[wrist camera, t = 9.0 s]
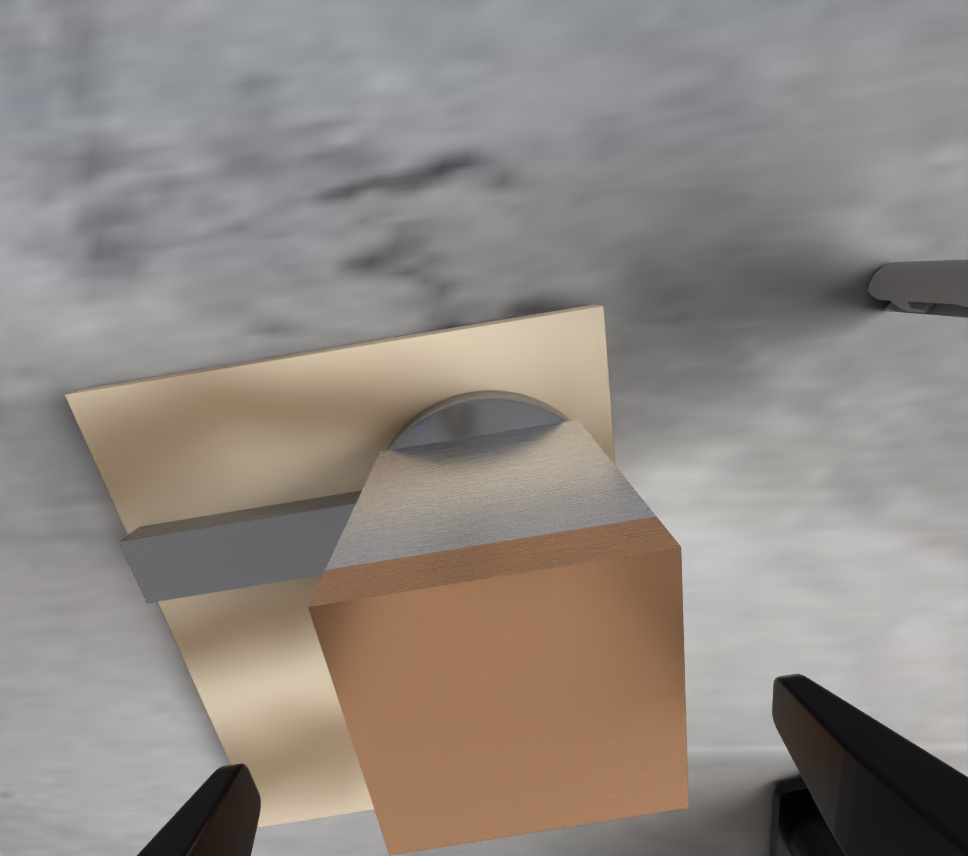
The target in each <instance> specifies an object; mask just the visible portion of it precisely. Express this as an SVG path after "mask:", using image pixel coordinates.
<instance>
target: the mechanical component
mask: <svg viewBox="0 0 968 856" xmlns="http://www.w3.org/2000/svg"><path fill="white" fill-rule="evenodd" d="M868 292H869V293H870V294H871V295H872V296H873V297H875V298H876V299H877V300H890V301H891V303H890V304H889V305H888V306H887V307H886V311H893V312H905V313H918V314H930V315H942V316H955V317H967V318H968V260H945V261H916V262H893V263H890V264H887V265H885V266H883V267H881V268H880V269H879V270H878V271H877V272H876V273H875V274H874V276H873V277H872V279H871V281H870V283H869V287H868Z"/></svg>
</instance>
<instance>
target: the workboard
mask: <svg viewBox="0 0 968 856" xmlns="http://www.w3.org/2000/svg"><path fill="white" fill-rule="evenodd" d="M483 390H500V391H509V392H515V393H520V394H523V395H527V396H530V397H533V398H536V399H538V400H540V401H542V402H545V403H547V404H549V405H550V406H552V407H554V408H555V409H557V410H558V411H560V412H561V413H563V414H564V415H565V416H566V417H567V418H569V419H570V420H577V419H578V420H579V422H580V423H581V424H582V425H583V427H584V428H585V429H586V430H587V432H588V433H589V434H590V435H591V437H592V438H593V439H594V440H595V441H596V443H597V444H598V445H599V446H600V448H601V449H602V450H603V451H604V453H605V454H606V455H607V456H608V457H609V459H610V460H611V461H612V462H613V464H614V465H615V455H614V442H613V428H612V415H611V402H610V389H609V375H608V362H607V349H606V335H605V322H604V309H603V306H600V305H595V304H594V305H588V306H582V307H576V308H570V309H563V310H557V311H551V312H545V313H539V314H533V315H527V316H521V317H515V318H509V319H503V320H497V321H491V322H485V323H478V324H472V325H466V326H460V327H454V328H448V329H442V330H436V331H430V332H424V333H418V334H412V335H406V336H400V337H393V338H387V339H381V340H375V341H369V342H363V343H357V344H351V345H345V346H339V347H333V348H327V349H321V350H315V351H309V352H302V353H296V354H290V355H284V356H278V357H272V358H266V359H260V360H254V361H248V362H242V363H236V364H230V365H224V366H217V367H211V368H205V369H199V370H193V371H187V372H181V373H175V374H169V375H163V376H157V377H151V378H145V379H139V380H132V381H126V382H120V383H114V384H108V385H102V386H96V387H90V388H86V389H83V390H79V391H76V392H73V393H69V394H66V395H65V396H66V398H67V401H68V403H69V405H70V407H71V410H72V412H73V414H74V416H75V419H76V421H77V423H78V425H79V427H80V430H81V432H82V434H83V436H84V439H85V441H86V443H87V445H88V447H89V450H90V452H91V454H92V456H93V459H94V461H95V463H96V465H97V468H98V470H99V472H100V474H101V476H102V479H103V481H104V483H105V485H106V488H107V490H108V492H109V494H110V496H111V499H112V501H113V503H114V505H115V508H116V510H117V512H118V514H119V517H120V519H121V521H122V523H123V525H124V528H125V530H126V532H127V534H128V535H129V534H131V533H132V532H133V531H134V530H136V529H137V528H138V527H140V526H146V525H152V524H159V523H165V522H171V521H177V520H183V519H189V518H195V517H201V516H208V515H214V514H220V513H226V512H232V511H238V510H244V509H251V508H257V507H263V506H269V505H275V504H281V503H287V502H293V501H300V500H306V499H312V498H318V497H324V496H330V495H336V494H343V493H349V492H355V491H361V490H363V488H364V485H365V483H366V481H367V479H368V477H369V475H370V473H371V470H372V468H373V466H374V464H375V462H376V460H377V457H378V455H379V453H380V451H386V449H387V447H388V446H389V444H390V443H391V441H392V439H393V438H394V437H395V436H396V434H397V433H398V432H399V431H400V429H401V428H402V427H403V426H404V425H405V424H406V423H408V422H409V421H410V420H411V419H412V418H413V417H414V416H416V415H417V414H419V413H420V412H421V411H423V410H424V409H426V408H427V407H429V406H431V405H433V404H435V403H437V402H439V401H441V400H444V399H446V398H449V397H452V396H455V395H459V394H463V393H467V392H473V391H483ZM322 576H323V575H319V576H313V577H307V578H300V579H294V580H288V581H282V582H276V583H270V584H263V585H257V586H251V587H245V588H239V589H233V590H226V591H220V592H214V593H208V594H202V595H196V596H189V597H183V598H177V599H171V600H165V601H158V603H159V606H160V608H161V610H162V612H163V615H164V617H165V619H166V621H167V623H168V626H169V628H170V630H171V632H172V635H173V637H174V639H175V641H176V644H177V646H178V648H179V650H180V652H181V655H182V657H183V659H184V661H185V664H186V666H187V668H188V670H189V672H190V675H191V677H192V679H193V681H194V684H195V686H196V688H197V690H198V693H199V695H200V697H201V699H202V701H203V704H204V706H205V708H206V710H207V713H208V715H209V717H210V719H211V722H212V724H213V726H214V728H215V730H216V733H217V735H218V737H219V739H220V742H221V744H222V746H223V748H224V750H225V753H226V755H227V757H228V759H229V762H230V764H231V765H233V764H240V763H243V764H245V765H246V766H247V767H248V768H249V771H250V773H251V775H252V777H253V780H254V782H255V784H256V787H257V789H258V791H259V794H260V798H261V811H260V816H259V821H258V826H259V828H260V827H266V826H272V825H279V824H285V823H291V822H298V821H304V820H310V819H316V818H323V817H329V816H335V815H341V814H348V813H354V812H360V811H367V810H373V809H374V807H373V804H372V801H371V798H370V794H369V791H368V788H367V785H366V782H365V779H364V776H363V773H362V770H361V767H360V764H359V761H358V758H357V755H356V752H355V749H354V746H353V743H352V740H351V737H350V734H349V731H348V728H347V725H346V722H345V719H344V716H343V713H342V710H341V706H340V703H339V700H338V697H337V694H336V691H335V688H334V685H333V682H332V679H331V676H330V673H329V670H328V667H327V664H326V661H325V658H324V655H323V652H322V649H321V646H320V643H319V640H318V637H317V634H316V631H315V628H314V625H313V622H312V618H311V615H310V612H309V609H308V606H309V604H310V602H311V599H312V597H313V595H314V593H315V591H316V589H317V586H318V584H319V582H320V580H321V578H322Z"/></svg>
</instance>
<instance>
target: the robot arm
mask: <svg viewBox="0 0 968 856" xmlns="http://www.w3.org/2000/svg"><path fill="white" fill-rule="evenodd" d="M772 716H773V720H774V723H775V726H776V728H777V730H778V732H779V734H780V736H781V738H782V740H783V742H784V744H785V746H786V747H787V749H788V751H789V753H790V755H791V757H792V759H793V761H794V763H795V764H796V766H797V768H798V770H799V772H800V774H801V776H802V778H803V780H799V781H793V782H786V783H782V784H780V785H778V786H777V787H776V788H775V791H774V808H773V828H772V847H771V856H968V777H967V776H965V775H964V774H962V773H961V772H959V771H957V770H956V769H954V768H952V767H951V766H949V765H948V764H946V763H944V762H943V761H941V760H940V759H938V758H936V757H935V756H933V755H932V754H930V753H928V752H927V751H925V750H923V749H922V748H920V747H919V746H917V745H915V744H914V743H912V742H911V741H909V740H907V739H906V738H904V737H902V736H901V735H899V734H898V733H896V732H894V731H893V730H891V729H890V728H888V727H886V726H885V725H883V724H881V723H880V722H878V721H877V720H875V719H873V718H872V717H870V716H869V715H867V714H865V713H864V712H862V711H861V710H859V709H857V708H856V707H854V706H852V705H851V704H849V703H848V702H846V701H844V700H843V699H841V698H840V697H838V696H836V695H835V694H833V693H831V692H830V691H828V690H827V689H825V688H823V687H822V686H820V685H819V684H817V683H815V682H814V681H812V680H810V679H809V678H807V677H805V676H803V675H801V674H792V675H786V676H779V677H777V678H776V679H775V680H774V684H773V703H772ZM260 811H261V798H260V794H259V791H258V789H257V787H256V784H255V782H254V780H253V777H252V775H251V773H250V771H249V768H248V767H247V766H246V765H245V764H243V763H240V764H233V765H227V766H223V767H220V768H219V769H217V770H216V771H215V772H214V773H213V774H212V775H211V776H210V777H209V778H208V779H207V780H206V781H205V783H204V784H203V785H202V786H201V787H200V788H199V789H198V790H197V791H196V792H195V793H194V794H193V795H192V797H191V798H190V799H189V800H188V801H187V802H186V803H185V804H184V805H183V806H182V807H181V808H180V810H179V811H178V812H177V813H176V814H175V815H174V816H173V817H172V818H171V819H170V820H169V821H168V822H167V824H166V825H165V826H164V827H163V828H162V829H161V830H160V831H159V832H158V833H157V834H156V835H155V837H154V838H153V839H152V840H151V841H150V842H149V843H148V844H147V845H146V846H145V847H144V848H143V849H142V851H141V852H140V853H139V854H138V855H137V856H251V852H252V848H253V843H254V839H255V834H256V830H257V825H258V821H259V816H260Z"/></svg>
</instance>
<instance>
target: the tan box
mask: <svg viewBox="0 0 968 856" xmlns="http://www.w3.org/2000/svg"><path fill="white" fill-rule="evenodd" d="M308 609H309V612H310V615H311V618H312V622H313V625H314V628H315V631H316V634H317V637H318V640H319V643H320V646H321V649H322V652H323V655H324V658H325V661H326V664H327V667H328V670H329V673H330V676H331V679H332V682H333V685H334V688H335V691H336V694H337V697H338V700H339V703H340V706H341V710H342V713H343V716H344V719H345V722H346V725H347V728H348V731H349V734H350V737H351V740H352V743H353V746H354V749H355V752H356V755H357V758H358V761H359V764H360V767H361V770H362V773H363V776H364V779H365V782H366V785H367V788H368V791H369V794H370V798H371V801H372V804H373V807H374V810H375V813H376V816H377V819H378V822H379V825H380V828H381V831H382V834H383V837H384V840H385V843H386V846H387V849H388V852H389V855H395V854H401V853H407V852H414V851H420V850H426V849H433V848H439V847H445V846H452V845H458V844H464V843H470V842H477V841H483V840H489V839H496V838H502V837H508V836H515V835H521V834H527V833H534V832H540V831H546V830H553V829H559V828H565V827H572V826H578V825H584V824H590V823H597V822H603V821H609V820H616V819H622V818H628V817H635V816H641V815H647V814H654V813H660V812H666V811H673V810H679V809H685V808H689V804H688V769H687V734H686V699H685V664H684V629H683V594H682V559H681V546H680V545H679V544H678V543H677V541H676V540H675V539H674V538H673V536H672V535H671V534H670V533H669V532H668V530H667V529H666V528H665V527H664V525H663V524H662V523H661V522H660V520H659V519H658V518H657V517H656V515H655V514H654V513H653V512H652V511H651V509H650V508H649V507H648V506H647V504H646V503H645V502H644V501H643V499H642V498H641V497H640V496H639V495H638V493H637V492H636V491H635V490H634V488H633V487H632V486H631V485H630V483H629V482H628V481H627V480H626V478H625V477H624V476H623V475H622V474H621V472H620V471H619V470H618V469H617V467H616V466H615V465H614V464H613V462H612V461H611V460H610V459H609V457H608V456H607V455H606V454H605V453H604V451H603V450H602V449H601V448H600V446H599V445H598V444H597V443H596V441H595V440H594V439H593V438H592V437H591V435H590V434H589V433H588V432H587V430H586V429H585V428H584V427H583V425H582V424H581V423H580V422H579V420H578V419H577V420H571V421H565V422H558V423H552V424H546V425H540V426H534V427H528V428H522V429H515V430H509V431H503V432H497V433H491V434H485V435H479V436H472V437H466V438H460V439H454V440H448V441H442V442H436V443H429V444H423V445H417V446H411V447H405V448H399V449H393V450H386V451H380V453H379V455H378V457H377V460H376V462H375V464H374V466H373V468H372V470H371V473H370V475H369V477H368V479H367V481H366V483H365V485H364V488H363V490H362V492H361V494H360V496H359V498H358V500H357V503H356V505H355V507H354V509H353V511H352V513H351V516H350V518H349V520H348V522H347V524H346V526H345V528H344V531H343V533H342V535H341V537H340V539H339V541H338V543H337V546H336V548H335V550H334V552H333V554H332V556H331V559H330V561H329V563H328V565H327V567H326V569H325V571H324V574H323V576H322V578H321V580H320V582H319V584H318V586H317V589H316V591H315V593H314V595H313V597H312V599H311V602H310V604H309V606H308Z"/></svg>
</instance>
